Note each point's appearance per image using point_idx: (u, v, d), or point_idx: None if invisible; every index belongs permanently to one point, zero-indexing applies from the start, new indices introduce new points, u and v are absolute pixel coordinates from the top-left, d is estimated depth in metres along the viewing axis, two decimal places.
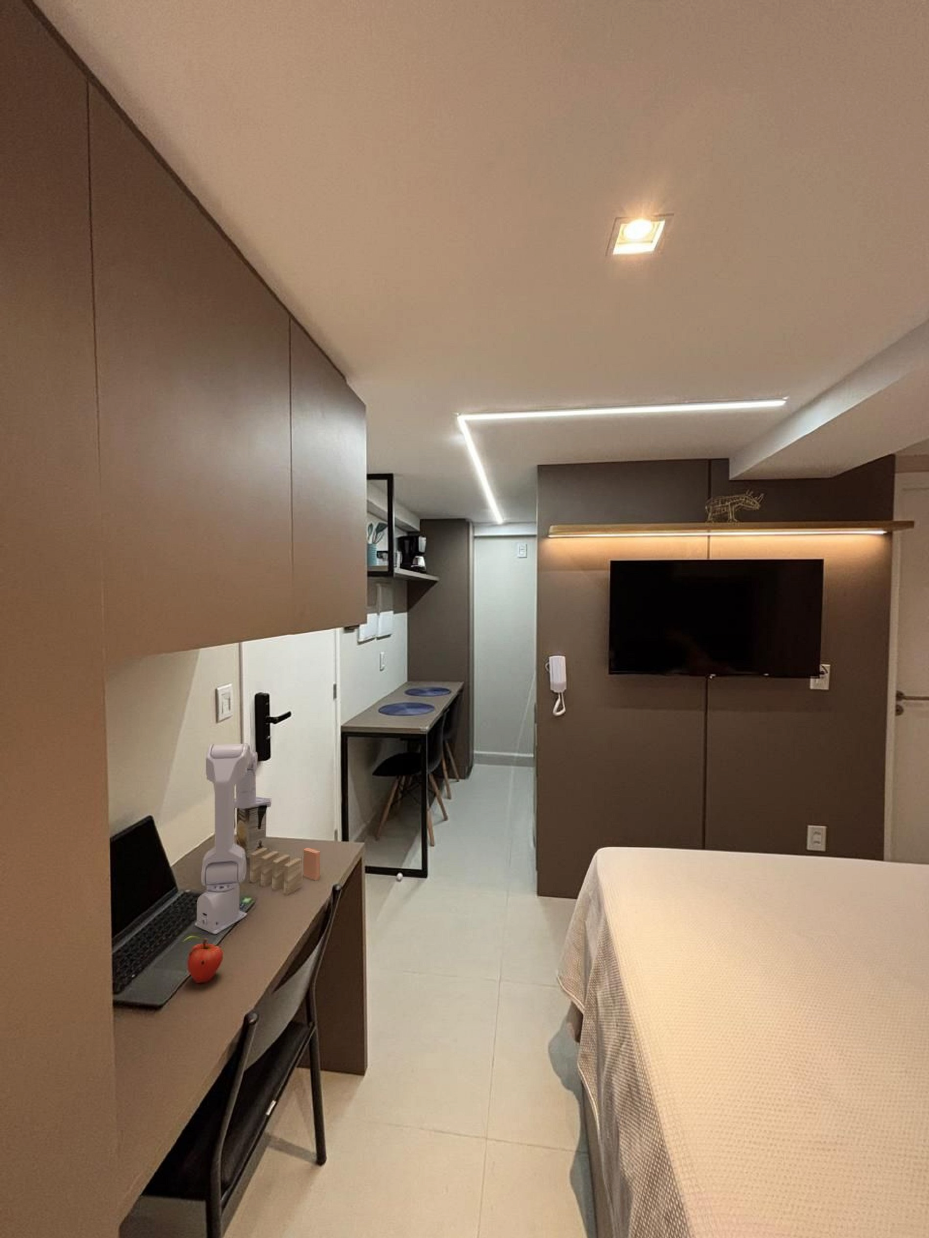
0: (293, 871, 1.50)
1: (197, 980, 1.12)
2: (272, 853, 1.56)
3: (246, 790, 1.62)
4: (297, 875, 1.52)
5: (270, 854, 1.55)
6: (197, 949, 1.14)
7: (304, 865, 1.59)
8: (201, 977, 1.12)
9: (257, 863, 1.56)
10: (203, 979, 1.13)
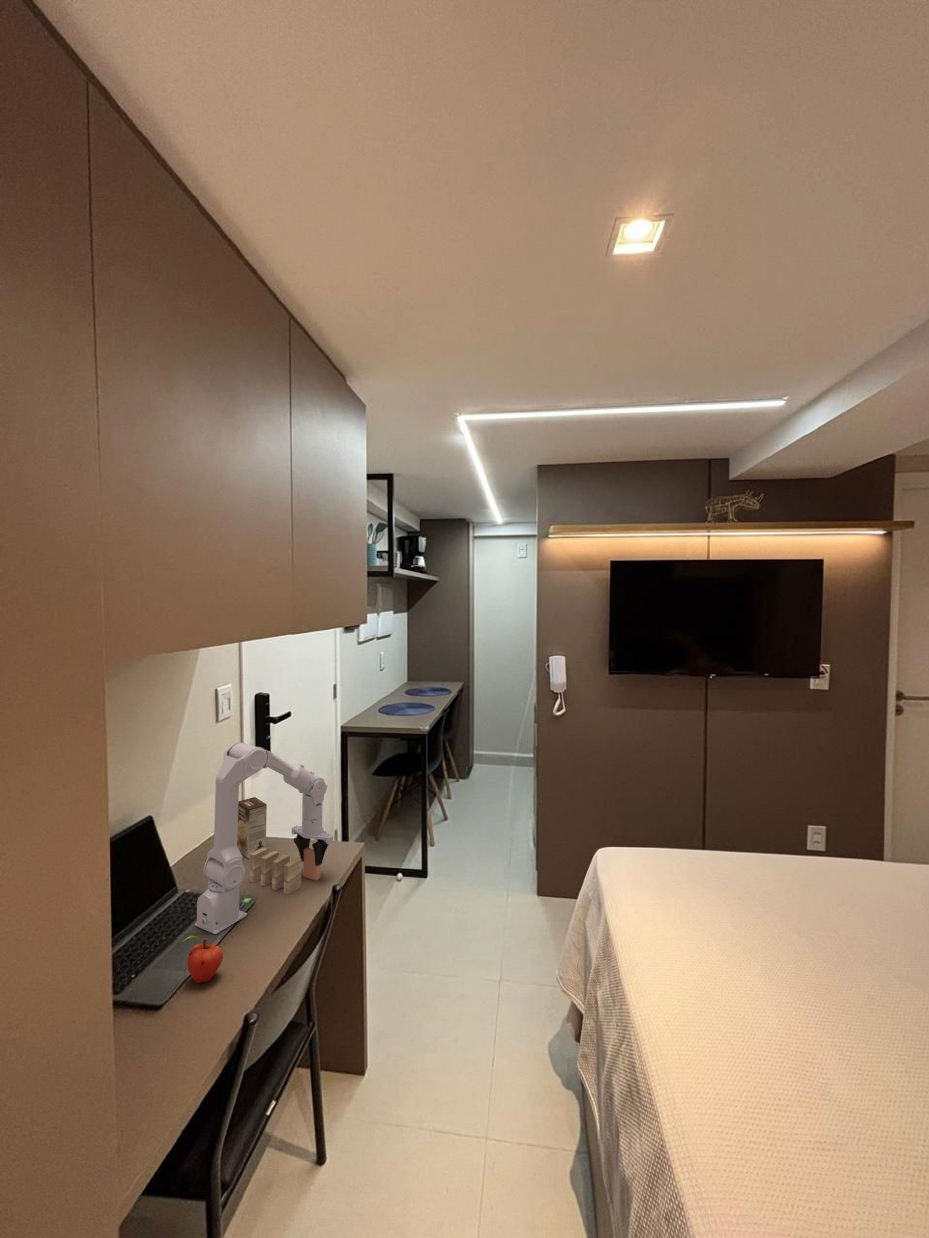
0: (293, 871, 1.50)
1: (197, 980, 1.12)
2: (272, 853, 1.56)
3: (306, 818, 1.56)
4: (297, 875, 1.52)
5: (270, 854, 1.55)
6: (197, 949, 1.14)
7: (304, 865, 1.59)
8: (201, 977, 1.12)
9: (257, 863, 1.56)
10: (203, 979, 1.13)
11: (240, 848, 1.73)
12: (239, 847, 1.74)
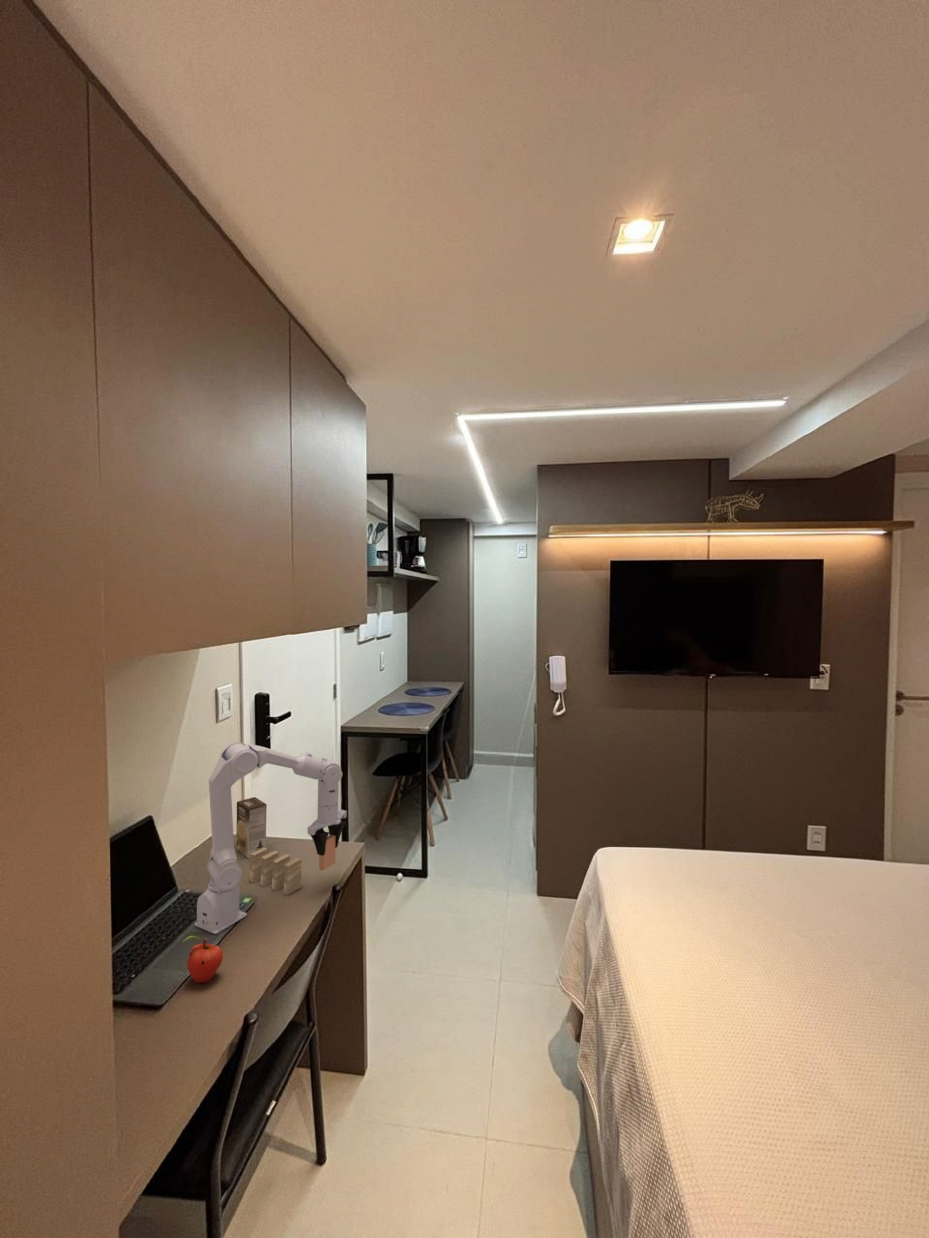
0: (293, 871, 1.50)
1: (197, 980, 1.12)
2: (272, 853, 1.56)
3: (319, 804, 1.51)
4: (297, 875, 1.52)
5: (270, 854, 1.55)
6: (197, 949, 1.14)
7: None
8: (201, 977, 1.12)
9: (257, 863, 1.56)
10: (203, 979, 1.13)
11: (240, 848, 1.73)
12: (239, 847, 1.74)
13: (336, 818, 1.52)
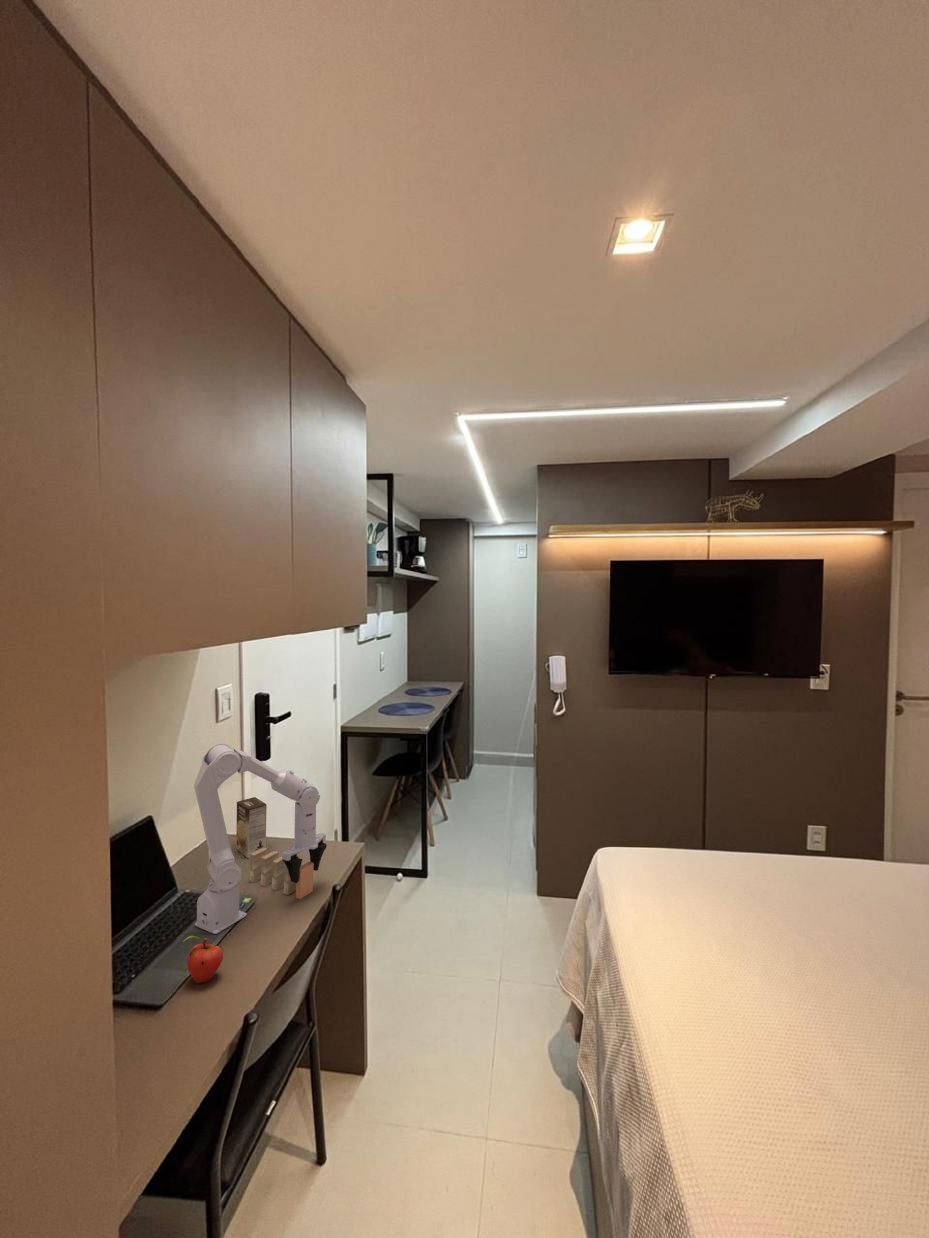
0: None
1: (197, 980, 1.12)
2: (272, 853, 1.56)
3: (296, 828, 1.47)
4: None
5: (270, 854, 1.55)
6: (197, 949, 1.14)
7: None
8: (201, 977, 1.12)
9: (257, 863, 1.56)
10: (203, 979, 1.13)
11: (240, 848, 1.73)
12: (239, 847, 1.74)
13: (313, 842, 1.48)
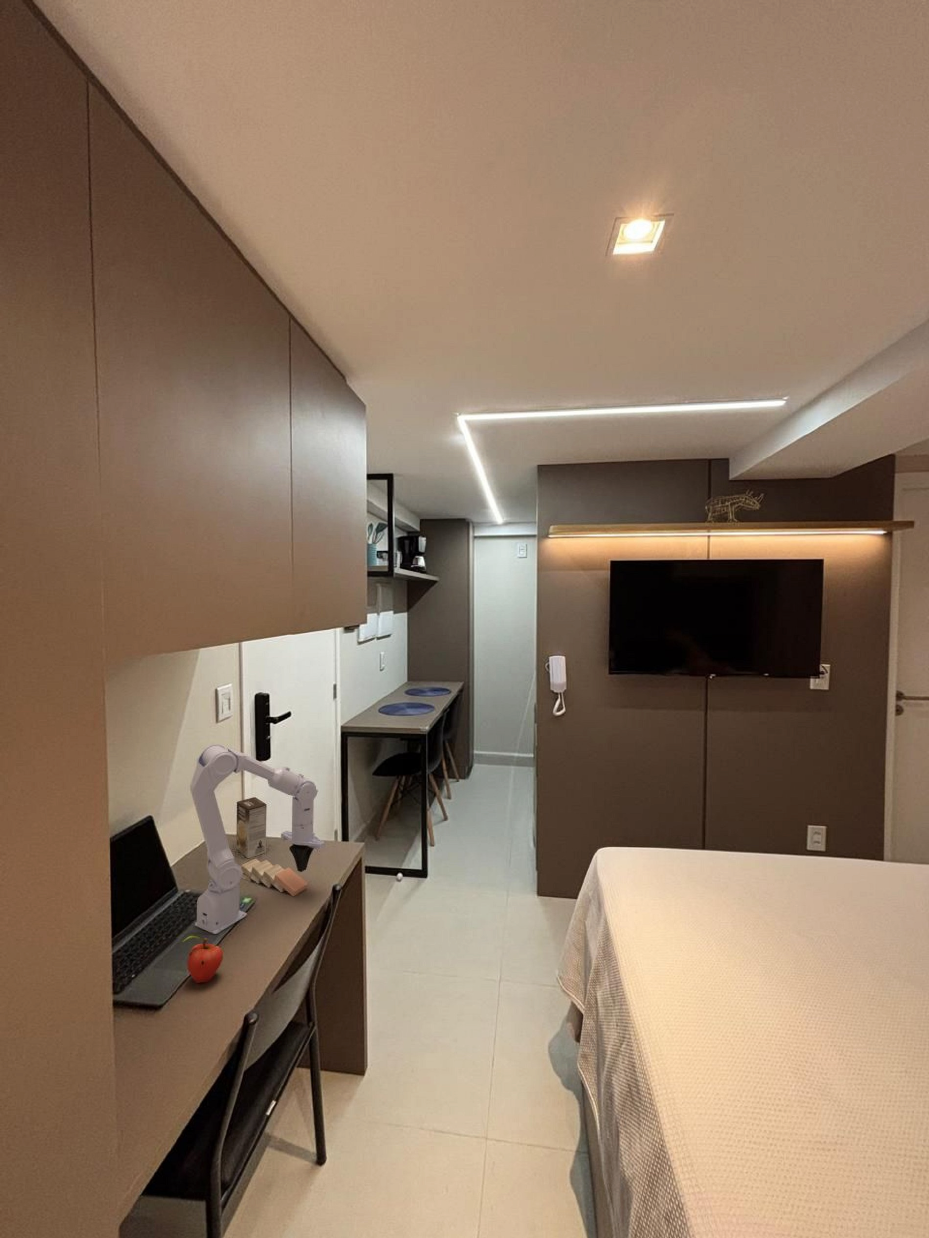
0: (274, 872, 1.54)
1: (197, 980, 1.12)
2: None
3: (294, 822, 1.47)
4: None
5: None
6: (197, 949, 1.14)
7: None
8: (201, 977, 1.12)
9: None
10: (203, 979, 1.13)
11: (240, 848, 1.73)
12: (239, 847, 1.74)
13: None
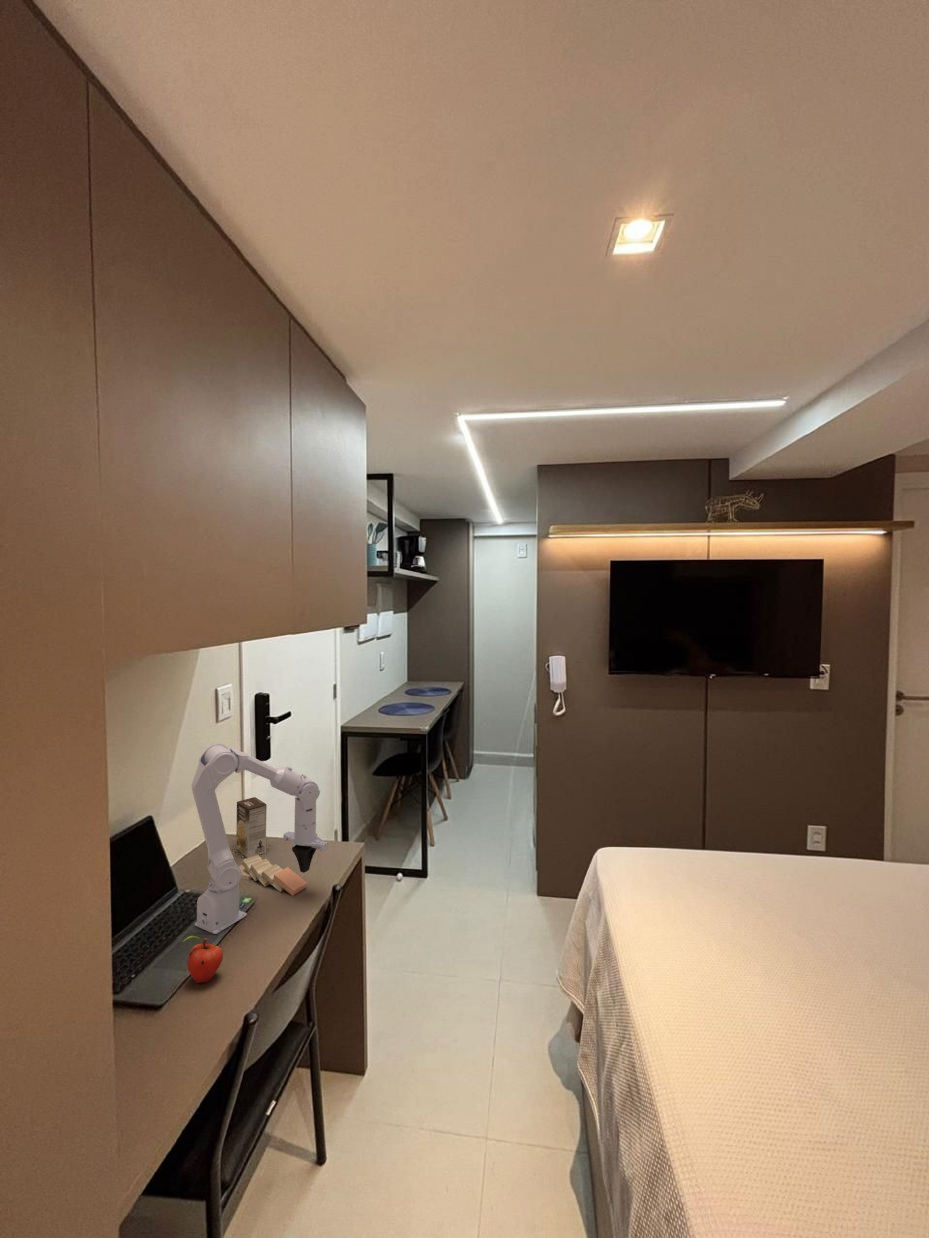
0: (273, 872, 1.54)
1: (197, 980, 1.12)
2: None
3: (296, 823, 1.47)
4: None
5: None
6: (197, 949, 1.14)
7: None
8: (201, 977, 1.12)
9: None
10: (203, 979, 1.13)
11: (240, 848, 1.73)
12: (239, 847, 1.74)
13: None
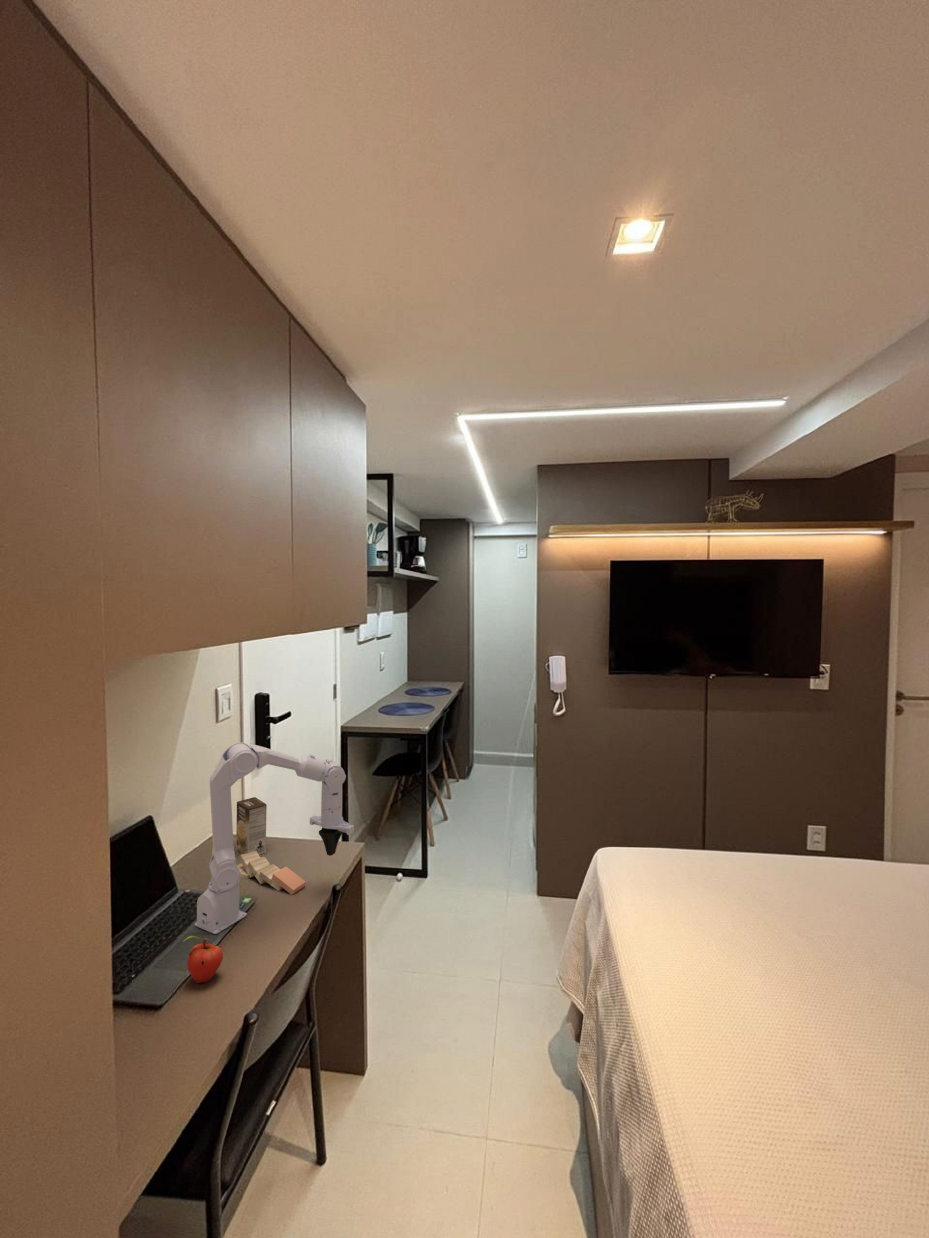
0: (271, 872, 1.54)
1: (197, 980, 1.12)
2: None
3: (322, 806, 1.49)
4: None
5: None
6: (197, 949, 1.14)
7: None
8: (201, 977, 1.12)
9: (239, 869, 1.60)
10: (203, 979, 1.13)
11: (240, 848, 1.73)
12: (239, 847, 1.74)
13: None
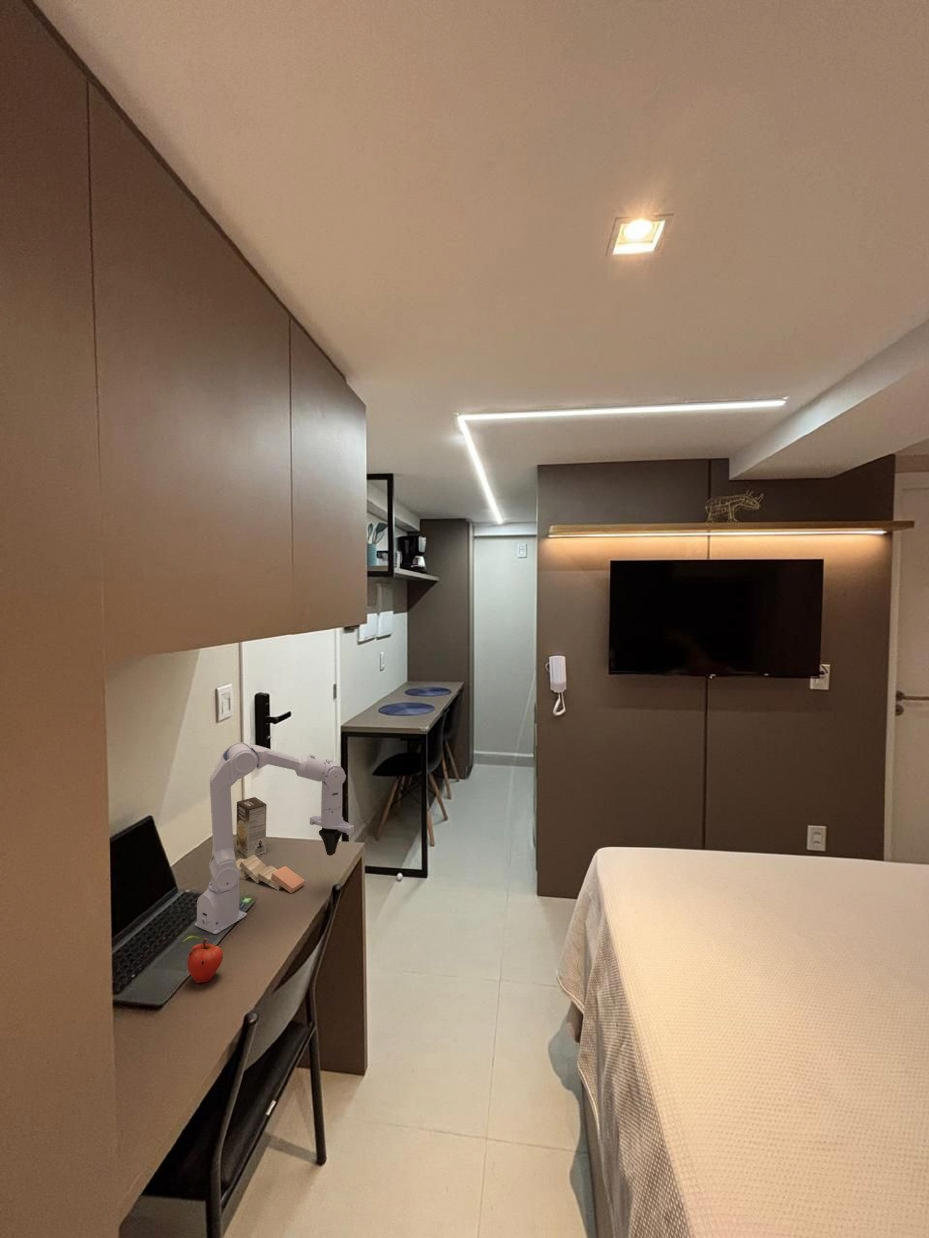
0: (269, 873, 1.55)
1: (197, 980, 1.12)
2: None
3: (322, 806, 1.49)
4: None
5: None
6: (197, 949, 1.14)
7: None
8: (201, 977, 1.12)
9: None
10: (203, 979, 1.13)
11: (240, 848, 1.73)
12: (239, 847, 1.74)
13: None
